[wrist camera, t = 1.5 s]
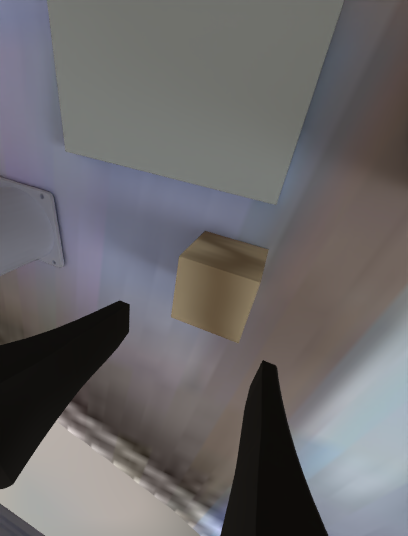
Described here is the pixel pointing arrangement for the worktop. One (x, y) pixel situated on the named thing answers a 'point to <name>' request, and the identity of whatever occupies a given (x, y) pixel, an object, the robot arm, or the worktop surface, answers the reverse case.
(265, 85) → the gray board
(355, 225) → the worktop surface
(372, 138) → the worktop surface
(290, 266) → the worktop surface
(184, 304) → the maple cube
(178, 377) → the worktop surface
